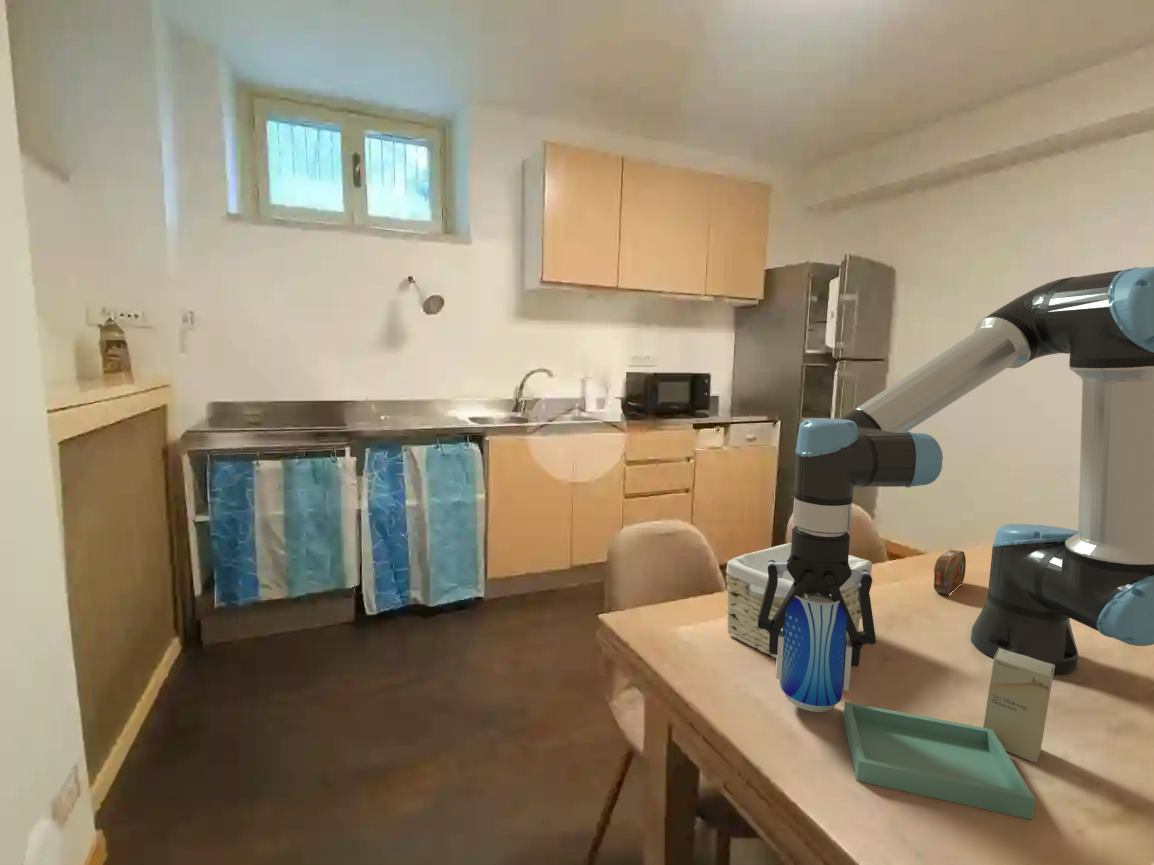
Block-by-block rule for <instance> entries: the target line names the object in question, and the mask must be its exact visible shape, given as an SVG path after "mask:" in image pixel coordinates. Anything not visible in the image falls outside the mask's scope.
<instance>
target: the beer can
mask: <svg viewBox="0 0 1154 865" xmlns="http://www.w3.org/2000/svg"><path fill="white" fill-rule="evenodd" d="M846 627H847V615H846V613H845V611H844V610H843V608H842V606H841V605H840V601H836V602H834V600H833V598H832V596H831V594H830V595H829V596H825V595H821V594H819V593H814V594H809V593H806V592H805V593H804V594H803V596H802V597H799V596H795V597H794V599H793V600H792V601H791V603H790V604H789V605H788V606H787V608H786V615H785V624H784V625H783V636H784V646H783V663H782V680H781V679H779V686H780V689H781V691H782V692H783V693H784V695H785V697H786V699H787V700H788V701H789V702H790V703H791V704H792V705H794V706H796V707H798V708H800V709H802V710H805V711H810V712H816V713H823V712H824V713H825V712H828V711H831V710H833V709H835V706H836V705H838V704H839V703H840V702H841V700H842V699H843V674H844V660H845V646H846V632H847V630H846Z"/></svg>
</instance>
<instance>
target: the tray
mask: <svg viewBox="0 0 1154 865" xmlns="http://www.w3.org/2000/svg"><path fill="white" fill-rule="evenodd" d="M843 707H844V708H843V717H842V718H843V723H844V727H845V728H844V729H845V732H846V738H847V741H848V746H849V752H850V756H851V760H852V764H853V770H854V774H855V779H856V782H861V783H865V784H870V785H875V786H879V787H883V788H888V789H893V790H896V791H902V792H906V793H910V794H915V795H919V796H924V797H929V798H933V799H936V800H937V799H938V800H942V801H946V802H951V803H954V804H955V803H956V804H959V805H965V806H969V807H972V808H973V807H974V808H979V809H983V810H987V811H991V812H995V813H1000V814H1005V815H1010V816H1014V817H1019V818H1022V819H1027V820H1031V821H1032V820H1033V816H1034V815H1033V814H1034V808H1035V800H1036V798H1035V797H1034V795H1033V793H1032V792H1031V790H1030V788H1029V787H1028V785H1027V783H1026V782H1025V780H1024V778H1023V777H1022V776H1021V774H1020V772H1019V771H1018V768H1016V766H1015V764H1014V762H1013V760H1012V759H1011V757H1010V756H1009V754H1008V752H1007V751H1005V749H1004V748H1003V746H1002V744H1001V743H1000V741H999V740H998V738H997V736H996V735H995V733H994V731H993V730H992V729H988V728H983V726H977V725H971V724H966V723H961V722H955V721H950V720H946V719H945V720H943V719H938V718H934V717H928V716H923V715H920V714H913V713H907V712H902V711H897V710H896V711H895V710H891V709H885V708H880V707H875V706H870V705H865V704H864V705H863V704H858V703H852V702H848V701H844V706H843Z"/></svg>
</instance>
